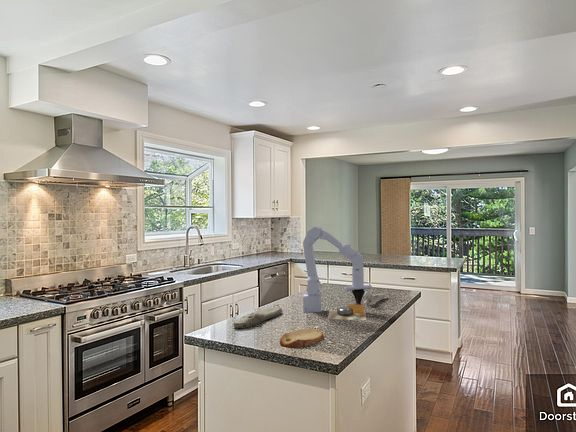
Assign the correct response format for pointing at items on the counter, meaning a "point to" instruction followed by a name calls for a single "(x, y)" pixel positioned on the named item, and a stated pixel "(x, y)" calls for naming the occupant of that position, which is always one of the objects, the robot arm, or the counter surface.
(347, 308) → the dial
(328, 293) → the counter surface
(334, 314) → the panel
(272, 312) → the elongated rock
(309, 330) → the bread slice
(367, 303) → the wrench
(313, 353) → the counter surface
